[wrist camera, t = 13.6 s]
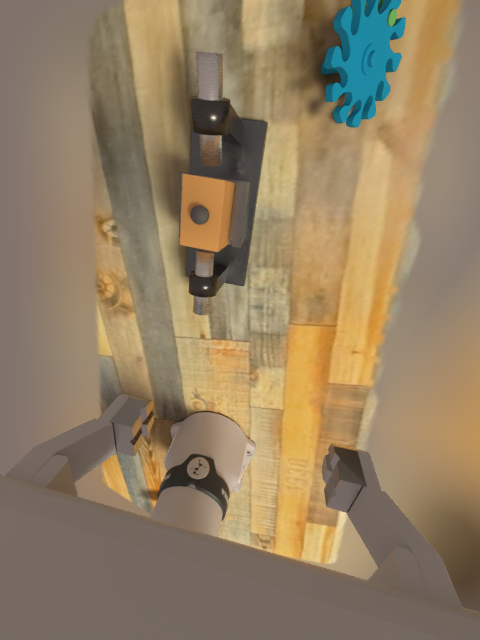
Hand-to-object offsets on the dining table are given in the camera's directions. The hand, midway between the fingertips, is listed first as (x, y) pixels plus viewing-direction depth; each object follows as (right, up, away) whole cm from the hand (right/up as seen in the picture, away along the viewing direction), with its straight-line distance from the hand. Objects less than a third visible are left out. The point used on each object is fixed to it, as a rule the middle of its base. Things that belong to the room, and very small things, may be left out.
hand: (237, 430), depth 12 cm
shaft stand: (-2, +20, +24) cm, 31 cm away
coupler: (-3, +18, +20) cm, 27 cm away
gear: (+13, +31, +16) cm, 37 cm away
